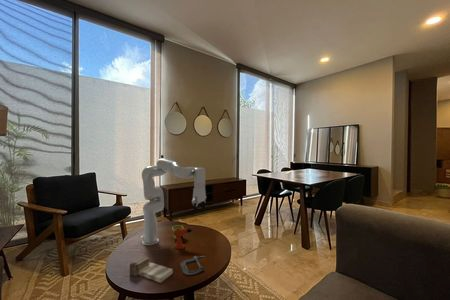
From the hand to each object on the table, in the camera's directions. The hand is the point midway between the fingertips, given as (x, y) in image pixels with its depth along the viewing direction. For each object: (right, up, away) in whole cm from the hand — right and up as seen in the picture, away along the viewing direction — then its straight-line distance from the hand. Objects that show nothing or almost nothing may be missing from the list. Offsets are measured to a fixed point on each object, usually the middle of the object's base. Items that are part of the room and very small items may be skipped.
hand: (199, 210), depth 151 cm
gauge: (-34, -31, -20) cm, 50 cm away
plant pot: (-21, -31, +28) cm, 47 cm away
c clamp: (-1, -32, -14) cm, 35 cm away
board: (-26, -31, -22) cm, 46 cm away
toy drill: (-12, -31, +11) cm, 35 cm away
